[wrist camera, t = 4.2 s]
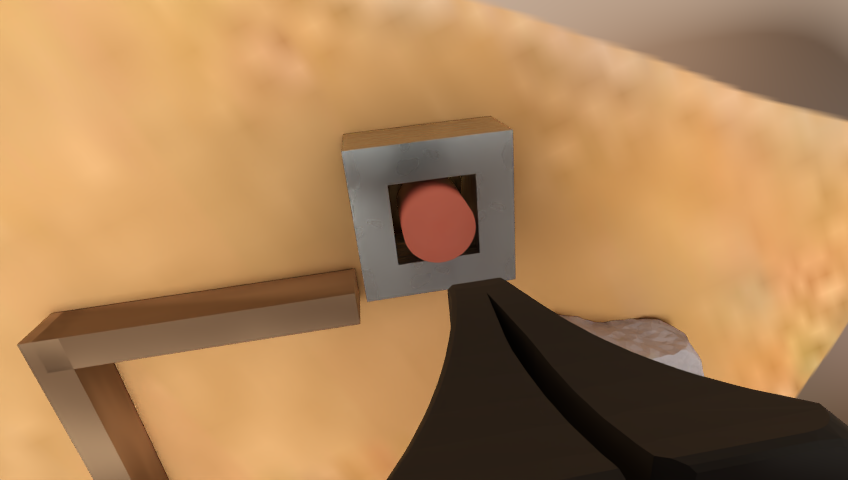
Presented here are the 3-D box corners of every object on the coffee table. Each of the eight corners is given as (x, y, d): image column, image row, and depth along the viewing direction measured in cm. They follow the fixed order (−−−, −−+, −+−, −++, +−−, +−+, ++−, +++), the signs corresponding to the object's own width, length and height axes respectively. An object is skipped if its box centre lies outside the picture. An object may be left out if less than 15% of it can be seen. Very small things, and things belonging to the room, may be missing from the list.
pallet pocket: (403, 538, 29) (406, 575, 27) (187, 580, 28) (174, 622, 26) (354, 268, 21) (354, 293, 19) (51, 313, 20) (16, 344, 18)
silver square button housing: (495, 248, 21) (515, 278, 19) (365, 267, 21) (367, 301, 18) (490, 116, 19) (512, 129, 16) (343, 134, 18) (341, 151, 16)
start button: (460, 226, 20) (477, 257, 17) (400, 235, 20) (407, 267, 17) (456, 167, 19) (473, 189, 16) (392, 176, 18) (399, 200, 16)
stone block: (458, 450, 29) (614, 478, 29) (459, 519, 25) (644, 553, 25) (501, 281, 25) (682, 314, 25) (512, 327, 21) (733, 367, 21)
